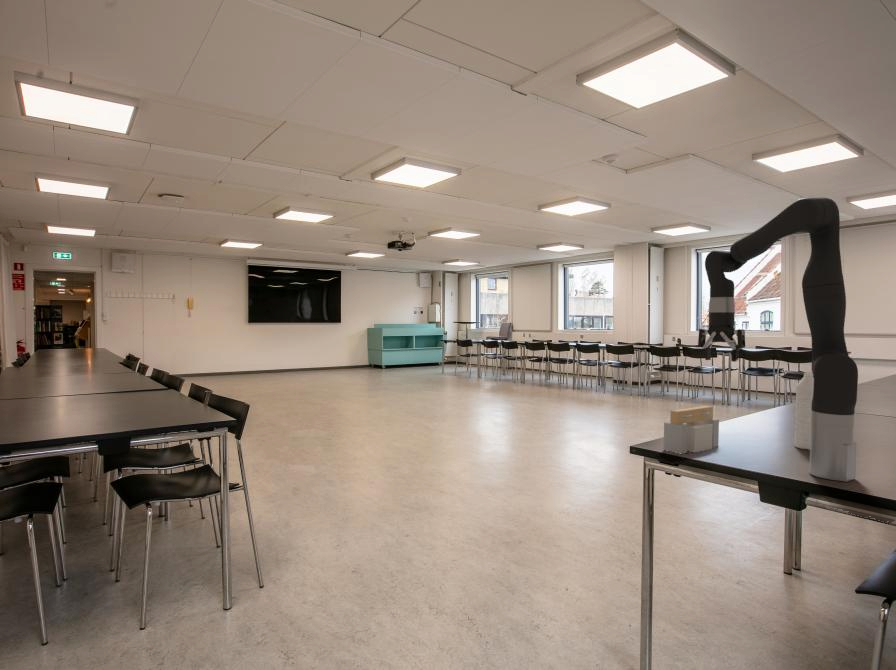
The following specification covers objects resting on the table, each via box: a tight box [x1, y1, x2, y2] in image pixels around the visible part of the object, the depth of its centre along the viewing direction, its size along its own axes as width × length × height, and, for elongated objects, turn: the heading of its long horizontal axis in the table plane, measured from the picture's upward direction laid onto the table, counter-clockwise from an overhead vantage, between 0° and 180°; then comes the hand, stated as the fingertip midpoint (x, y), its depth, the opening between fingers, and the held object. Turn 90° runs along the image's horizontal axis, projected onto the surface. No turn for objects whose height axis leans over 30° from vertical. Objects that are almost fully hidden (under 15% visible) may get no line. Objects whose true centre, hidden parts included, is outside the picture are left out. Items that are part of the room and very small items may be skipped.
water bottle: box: [793, 371, 814, 451], centre depth 169 cm, size 9×6×25 cm
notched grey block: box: [663, 417, 720, 455], centre depth 166 cm, size 8×21×9 cm, turn 123°
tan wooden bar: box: [669, 405, 714, 425], centre depth 166 cm, size 5×20×4 cm, turn 123°
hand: (720, 360), depth 169 cm, fingers open, 8 cm apart
